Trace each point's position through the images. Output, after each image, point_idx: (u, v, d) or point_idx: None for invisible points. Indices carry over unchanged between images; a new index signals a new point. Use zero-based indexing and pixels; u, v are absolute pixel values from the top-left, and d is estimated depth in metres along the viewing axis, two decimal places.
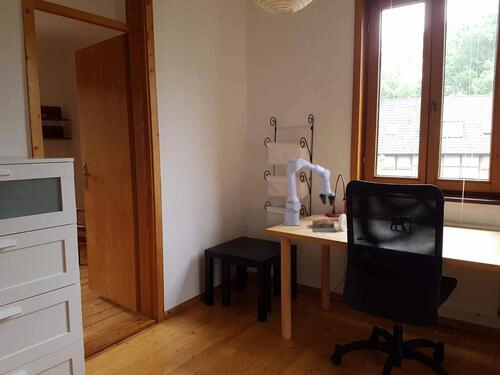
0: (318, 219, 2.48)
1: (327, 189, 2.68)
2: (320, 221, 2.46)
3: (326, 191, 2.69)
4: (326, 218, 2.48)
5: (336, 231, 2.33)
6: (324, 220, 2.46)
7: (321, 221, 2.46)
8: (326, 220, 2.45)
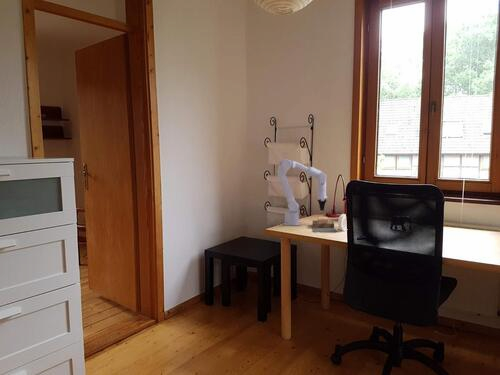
0: (318, 219, 2.48)
1: (320, 193, 2.55)
2: (320, 221, 2.46)
3: (319, 195, 2.56)
4: (326, 218, 2.48)
5: (336, 231, 2.33)
6: (324, 220, 2.46)
7: (321, 221, 2.46)
8: (326, 220, 2.45)
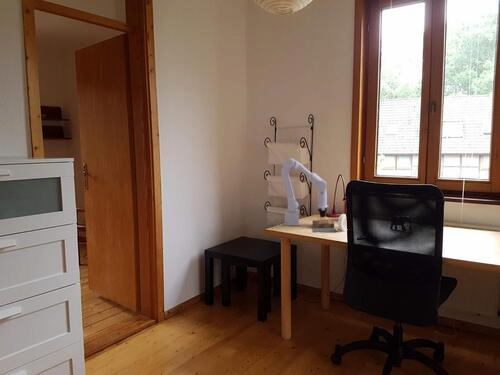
0: (318, 219, 2.47)
1: (321, 202, 2.51)
2: (320, 221, 2.45)
3: (319, 204, 2.52)
4: (326, 218, 2.47)
5: (336, 231, 2.33)
6: (324, 220, 2.44)
7: (321, 221, 2.45)
8: (326, 220, 2.44)
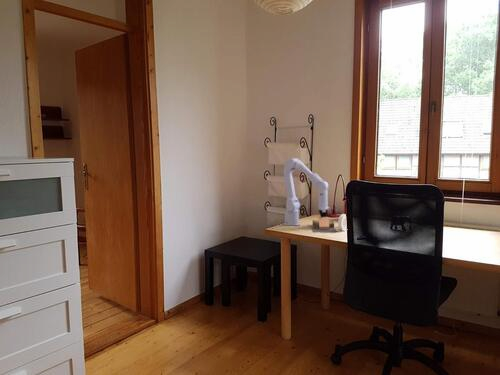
0: (319, 225, 2.40)
1: (321, 204, 2.44)
2: (321, 228, 2.39)
3: (320, 206, 2.45)
4: (327, 223, 2.40)
5: (336, 231, 2.33)
6: (325, 227, 2.38)
7: (322, 228, 2.39)
8: (327, 227, 2.38)
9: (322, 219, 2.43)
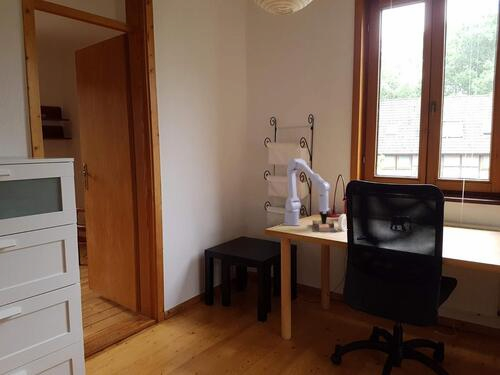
0: (319, 227, 2.37)
1: (322, 205, 2.38)
2: (321, 229, 2.35)
3: (321, 207, 2.39)
4: (327, 226, 2.37)
5: (336, 231, 2.33)
6: (325, 228, 2.35)
7: (322, 229, 2.35)
8: (327, 228, 2.34)
9: (322, 224, 2.41)
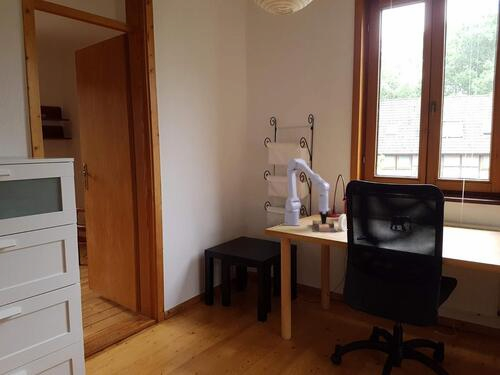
0: (319, 227, 2.37)
1: (322, 205, 2.39)
2: (321, 229, 2.35)
3: (320, 207, 2.39)
4: (327, 226, 2.37)
5: (336, 231, 2.33)
6: (325, 228, 2.35)
7: (322, 229, 2.35)
8: (327, 228, 2.34)
9: (322, 224, 2.41)
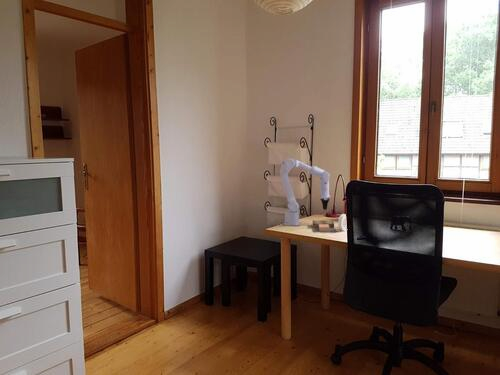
0: (319, 227, 2.37)
1: (323, 192, 2.56)
2: (321, 229, 2.35)
3: (322, 194, 2.57)
4: (327, 226, 2.37)
5: (336, 231, 2.33)
6: (325, 228, 2.35)
7: (322, 229, 2.35)
8: (327, 228, 2.34)
9: (322, 224, 2.41)
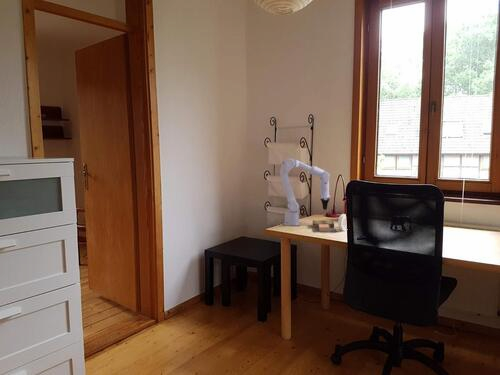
0: (319, 227, 2.37)
1: (323, 192, 2.56)
2: (321, 229, 2.35)
3: (322, 194, 2.57)
4: (327, 226, 2.37)
5: (336, 231, 2.33)
6: (325, 228, 2.35)
7: (322, 229, 2.35)
8: (327, 228, 2.34)
9: (322, 224, 2.41)
